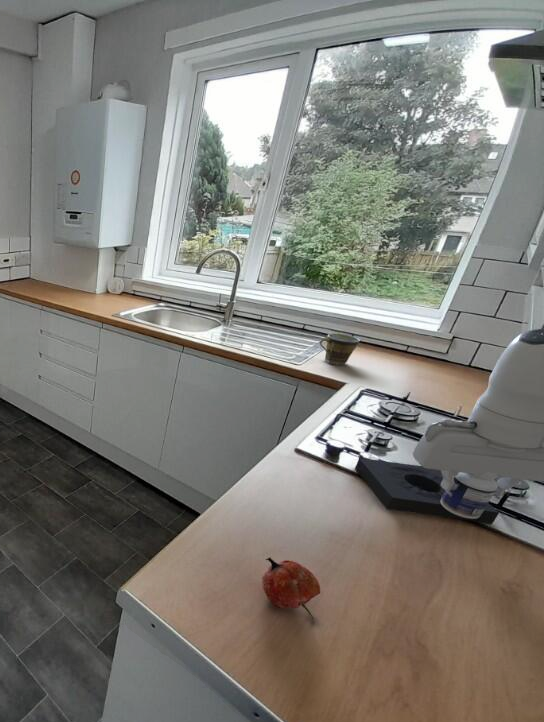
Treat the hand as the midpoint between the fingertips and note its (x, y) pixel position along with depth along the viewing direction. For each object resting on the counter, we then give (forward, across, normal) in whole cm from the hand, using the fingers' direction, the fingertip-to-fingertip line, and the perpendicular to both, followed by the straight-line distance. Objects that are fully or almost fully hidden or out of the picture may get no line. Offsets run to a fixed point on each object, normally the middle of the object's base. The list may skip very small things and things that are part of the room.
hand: (470, 491), depth 73 cm
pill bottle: (+4, 0, 0) cm, 4 cm away
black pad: (+10, +1, +12) cm, 16 cm away
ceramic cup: (+11, +15, +94) cm, 96 cm away
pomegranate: (+10, -35, -23) cm, 43 cm away
